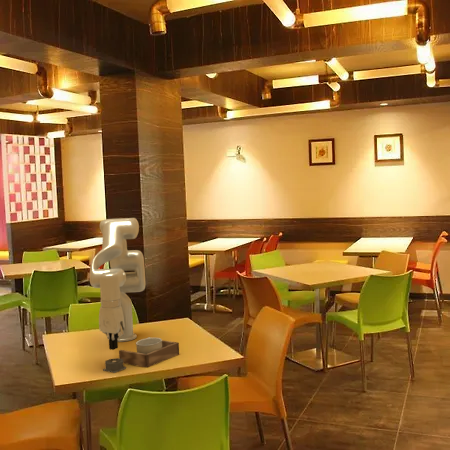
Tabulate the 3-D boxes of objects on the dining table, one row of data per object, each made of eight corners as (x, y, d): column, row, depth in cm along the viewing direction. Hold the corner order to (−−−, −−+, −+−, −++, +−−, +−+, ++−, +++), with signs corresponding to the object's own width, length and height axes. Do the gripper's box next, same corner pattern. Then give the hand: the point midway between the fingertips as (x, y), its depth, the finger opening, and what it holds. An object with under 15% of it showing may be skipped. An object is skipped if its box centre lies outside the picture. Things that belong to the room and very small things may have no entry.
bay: (119, 362, 243) (118, 350, 243) (152, 349, 260) (151, 338, 259) (147, 367, 234) (146, 355, 234) (179, 354, 251) (178, 342, 251)
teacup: (160, 363, 240) (159, 343, 239) (134, 363, 240) (133, 344, 240) (166, 353, 254) (165, 334, 253) (141, 353, 254) (140, 335, 254)
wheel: (101, 369, 233) (101, 362, 233) (114, 364, 238) (114, 357, 238) (114, 371, 229) (114, 364, 229) (127, 366, 235) (126, 359, 234)
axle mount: (103, 370, 233) (102, 362, 233) (114, 366, 238) (114, 357, 238) (114, 372, 229) (114, 364, 229) (126, 368, 235) (125, 359, 234)
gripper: (90, 303, 233) (93, 348, 235) (117, 307, 225) (120, 354, 227) (104, 299, 239) (107, 343, 241) (131, 303, 231) (134, 348, 233)
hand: (113, 348), depth 234 cm, fingers closed
